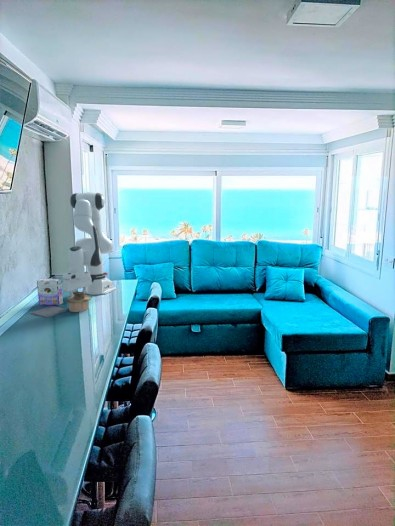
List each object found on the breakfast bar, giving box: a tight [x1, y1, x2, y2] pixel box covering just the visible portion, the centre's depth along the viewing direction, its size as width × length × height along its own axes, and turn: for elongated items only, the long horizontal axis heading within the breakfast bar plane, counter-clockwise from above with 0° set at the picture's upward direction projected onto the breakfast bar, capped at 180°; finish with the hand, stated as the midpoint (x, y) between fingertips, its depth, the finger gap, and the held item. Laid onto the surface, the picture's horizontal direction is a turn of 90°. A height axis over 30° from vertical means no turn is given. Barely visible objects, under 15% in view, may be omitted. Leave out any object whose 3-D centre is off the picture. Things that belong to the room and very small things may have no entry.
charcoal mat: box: [30, 305, 69, 319], centre depth 221 cm, size 15×15×1 cm
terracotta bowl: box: [68, 301, 89, 313], centre depth 226 cm, size 11×11×6 cm
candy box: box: [36, 277, 64, 307], centre depth 234 cm, size 14×6×16 cm, turn 84°
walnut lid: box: [66, 290, 91, 304], centre depth 225 cm, size 14×14×5 cm
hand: (78, 295), depth 225 cm, fingers open, 7 cm apart
